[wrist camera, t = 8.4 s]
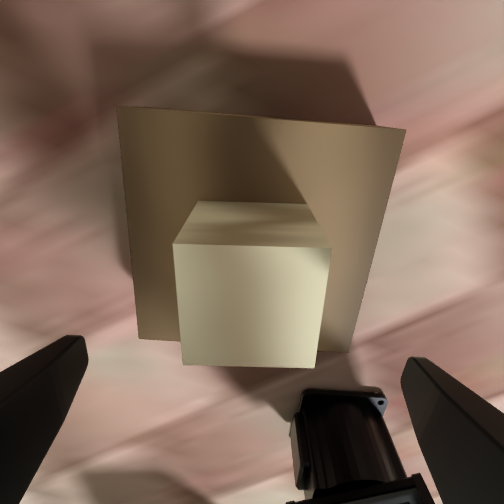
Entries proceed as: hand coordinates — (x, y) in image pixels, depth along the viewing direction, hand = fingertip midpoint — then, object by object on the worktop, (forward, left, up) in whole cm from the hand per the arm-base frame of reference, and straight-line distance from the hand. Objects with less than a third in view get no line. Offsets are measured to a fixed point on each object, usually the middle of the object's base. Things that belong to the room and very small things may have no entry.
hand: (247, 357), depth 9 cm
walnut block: (0, 0, -11) cm, 11 cm away
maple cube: (0, 0, -7) cm, 7 cm away
